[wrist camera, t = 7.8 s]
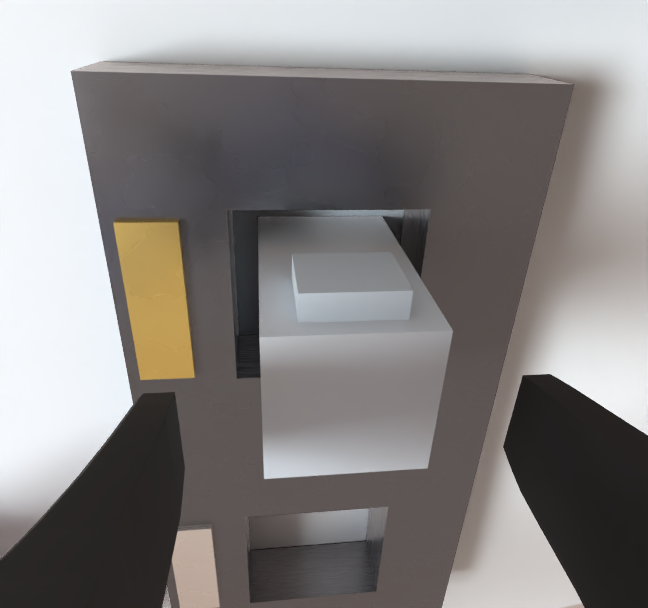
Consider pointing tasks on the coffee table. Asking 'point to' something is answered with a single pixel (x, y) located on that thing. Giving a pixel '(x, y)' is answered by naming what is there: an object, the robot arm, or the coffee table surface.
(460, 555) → the coffee table surface
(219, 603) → the panel
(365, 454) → the plug
